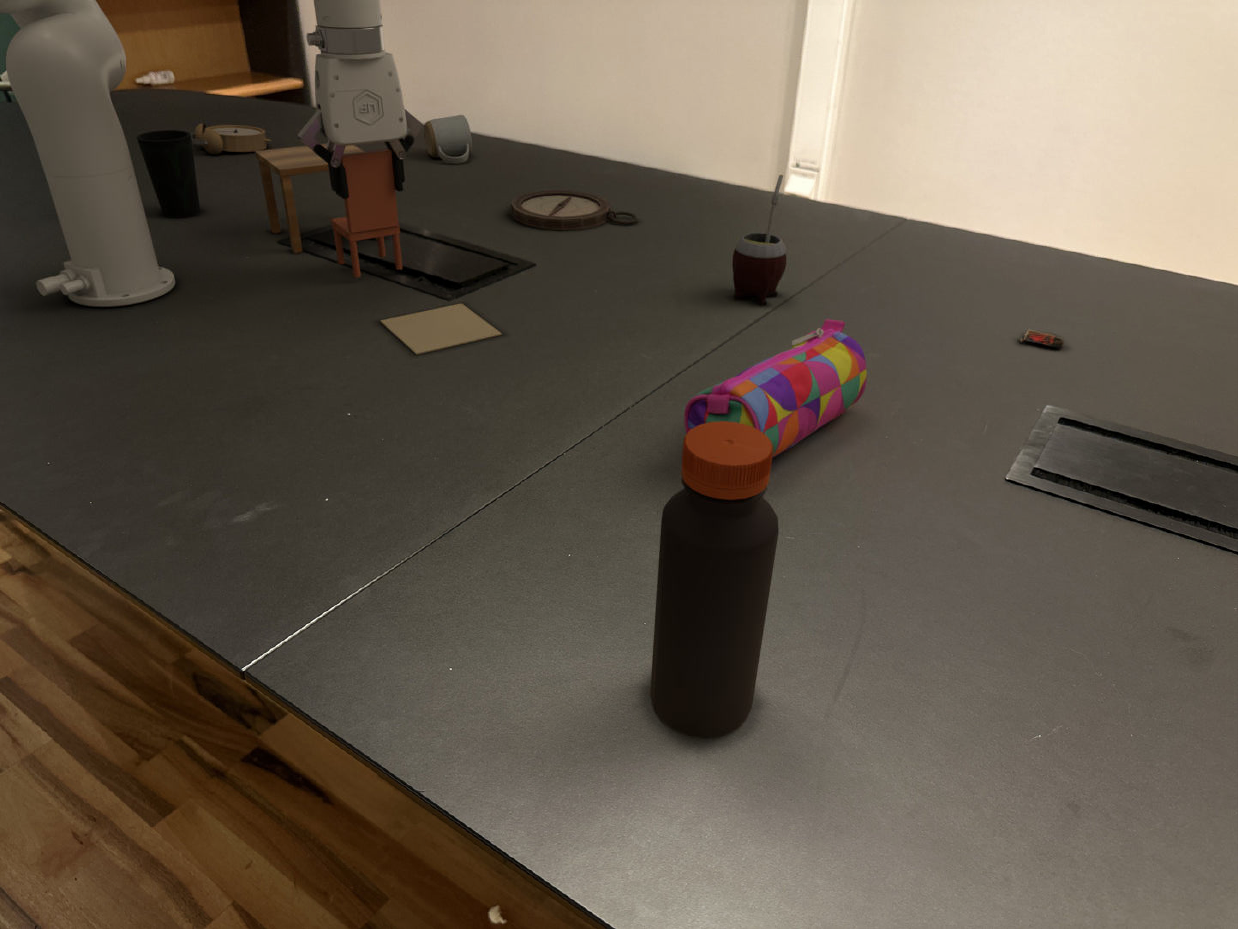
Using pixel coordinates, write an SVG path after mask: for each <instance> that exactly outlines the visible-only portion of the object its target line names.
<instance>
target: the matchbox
mask: <svg viewBox="0 0 1238 929" xmlns="http://www.w3.org/2000/svg"><path fill="white" fill-rule="evenodd" d="M1023 335H1024V337H1021V338H1020V339H1019V342H1021V344H1023V342H1024V340H1025V341H1027V342H1032V343H1035V344H1036V343H1037V344H1040V345H1041V344H1042V345H1045V346H1049V347H1054V348H1059V349H1061V348H1065V346H1064V345H1065V340H1063V338H1062V337H1059V336H1057V335H1055V334H1054V333H1052V332H1041V331H1036V330H1033V329H1028V330H1027V331H1026V332H1025V333H1024V334H1023Z"/></svg>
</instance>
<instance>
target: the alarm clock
mask: <svg viewBox="0 0 1238 929" xmlns="http://www.w3.org/2000/svg"><path fill="white" fill-rule="evenodd" d="M190 134H191V139H192V145H197V146H199V147H200V148H202V149H204V151H206V152H207V153H209V154H211V155H220V154H221V153H222V152H232V153H233V152H235V153H249V152H255V151H262V150H266V149H267V146H268V145H267V143H271V142H272V139H269V138H266V130H265V129H263V128H260V127H257V126H251V125H239V124H223V125H222V124H219V125H212V126H207V125H206V124H205V123H199V124H198V125H197V126H196V127H195V130H194V132H193V133H190Z"/></svg>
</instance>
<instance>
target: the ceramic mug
mask: <svg viewBox="0 0 1238 929" xmlns="http://www.w3.org/2000/svg"><path fill="white" fill-rule="evenodd" d="M423 138H424V144H425V149H426V150H427V153H428V155H429V156H431V157H432V158H438V159H441V160H442V161H444V163H445V162H446V163H448V164H452V165H458V164H464V163H465V162H466V161H468V159H469V156H471V154H472V150H473V140H472V138H473V137H472V132H471V128H470V125H469V122H468V120H467V117H466V116H465V115H464V114H458V115H452V116H446V117H439V118H432V119H430V120H426V122H424V124H423Z"/></svg>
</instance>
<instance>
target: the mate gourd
mask: <svg viewBox="0 0 1238 929" xmlns="http://www.w3.org/2000/svg"><path fill="white" fill-rule="evenodd" d="M783 178H784V175H783V174H779V175H778V178H777V181H776V186H775V187H774V192H773V195H772V197H771V202H770V203H771V207H770V212H769V219H768V224H767V229H766V233H765V232H752V233H747V234H745V235H743V236H741V237H740V238H739V240H738V241H737V243H736V244H735V248H734V250H733V253H732V265H731V267H732V279H733V287H734V293H733V294H732V298H733V300H748V299H753V300H754V301H756V302H757V303H758V304H759V305H760V306H767V304H768V301H767V300H766V298H769V297H770V298H773V297H777V296H778V292H777V287H778V285H779V283H780V281H781V280H782V278H783V276H784V273H785V271H786V268H787V267H786V266H787V248H786V246H785V243H784V242H783V240H782V239H781V238H780V237H779V236H777V235H774V234H772V231H773V230H772V229H773V224H774V220H775V213H776V208H777V205H778V201H779V193H780V189H781V185H782V182H783Z"/></svg>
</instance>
